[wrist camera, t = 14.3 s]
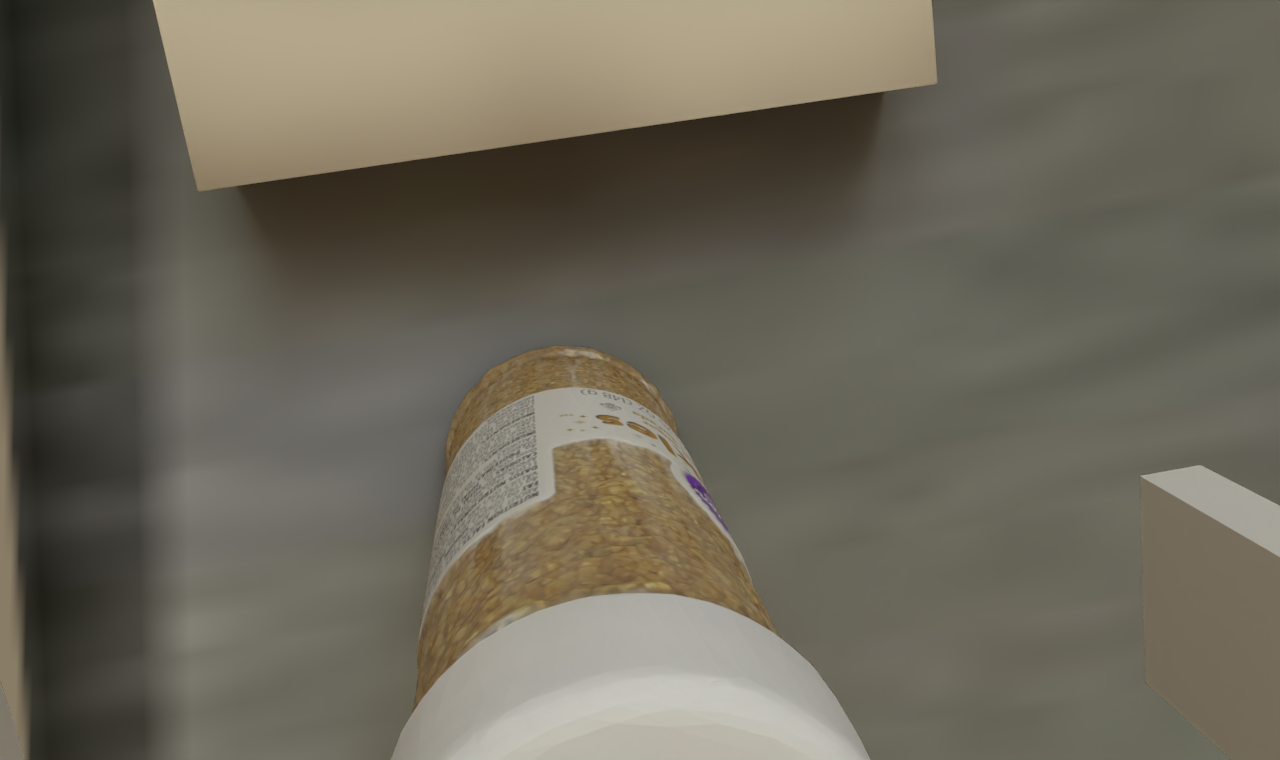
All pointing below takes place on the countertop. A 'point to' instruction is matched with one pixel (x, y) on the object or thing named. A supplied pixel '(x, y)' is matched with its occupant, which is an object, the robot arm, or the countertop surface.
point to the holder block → (504, 72)
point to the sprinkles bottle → (596, 590)
